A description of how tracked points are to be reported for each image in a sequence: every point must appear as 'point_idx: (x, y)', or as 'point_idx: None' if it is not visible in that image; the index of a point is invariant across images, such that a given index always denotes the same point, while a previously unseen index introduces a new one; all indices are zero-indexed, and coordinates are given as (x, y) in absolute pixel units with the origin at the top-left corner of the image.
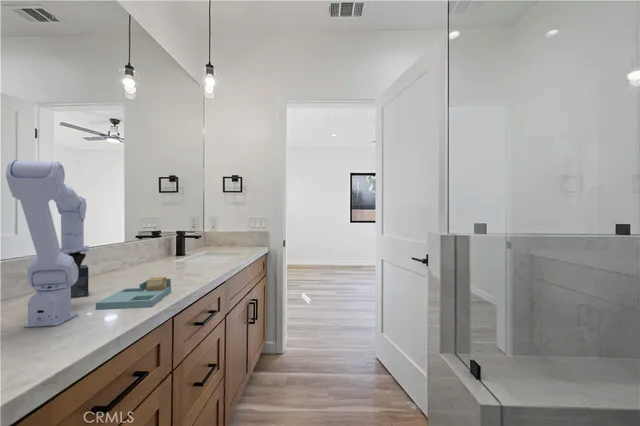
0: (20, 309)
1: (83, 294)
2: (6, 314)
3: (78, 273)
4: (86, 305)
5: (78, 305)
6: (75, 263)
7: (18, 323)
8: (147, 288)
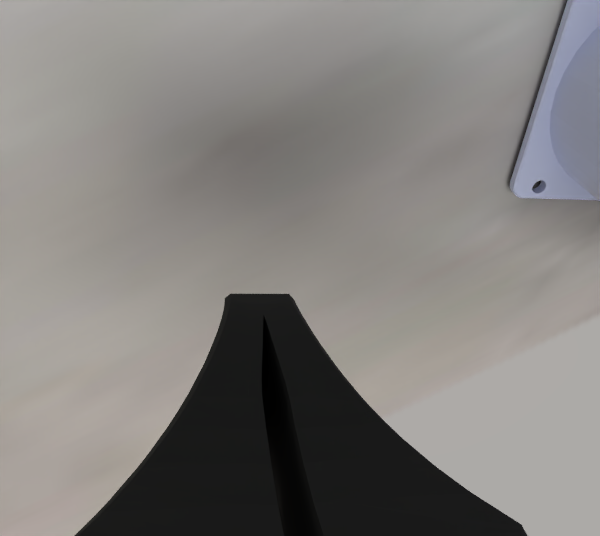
0: None
1: None
2: None
3: None
4: (218, 52)
5: (202, 131)
6: (408, 444)
7: (585, 278)
8: None
